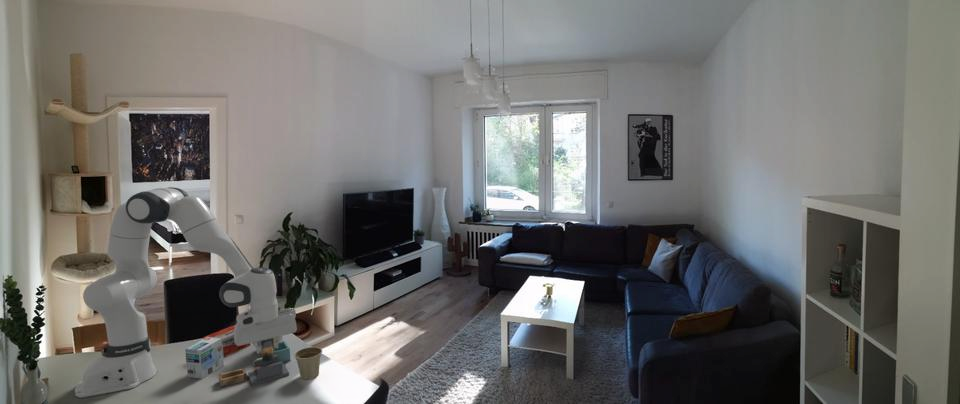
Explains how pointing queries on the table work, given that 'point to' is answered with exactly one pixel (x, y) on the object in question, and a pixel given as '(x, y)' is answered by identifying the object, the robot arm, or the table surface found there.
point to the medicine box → (227, 340)
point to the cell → (267, 349)
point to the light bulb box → (204, 357)
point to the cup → (282, 352)
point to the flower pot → (308, 361)
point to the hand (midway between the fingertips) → (267, 350)
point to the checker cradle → (267, 370)
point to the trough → (232, 377)
